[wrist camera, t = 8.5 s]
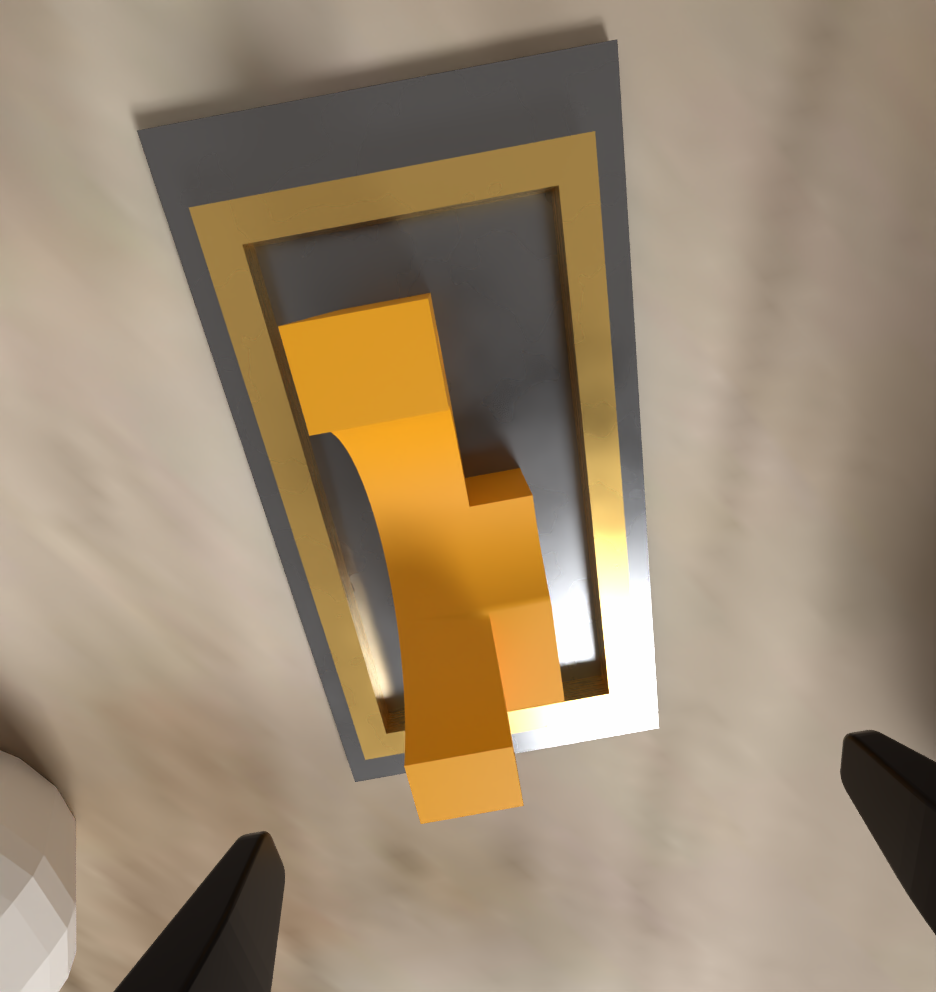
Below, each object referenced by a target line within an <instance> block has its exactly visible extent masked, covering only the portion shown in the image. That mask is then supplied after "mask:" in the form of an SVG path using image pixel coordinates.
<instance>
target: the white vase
mask: <svg viewBox="0 0 936 992" xmlns="http://www.w3.org/2000/svg"><path fill="white" fill-rule="evenodd" d="M75 954H76V820H75V818H74V816H73V815H72V813H71V811H70V810H69V808H68V806H67V804H66V803H65V801H64V799H63V798H62V796H61V794H60V792H59V791H58V789H57V787H55V786H54V785H53V784H52V783H50V782H49V781H48V780H47V779H45V778H44V777H43V776H42V775H40V774H39V773H38V772H36V771H35V770H34V769H33V768H31V767H30V766H29V765H28V764H26V763H25V762H24V761H23V760H21V759H20V758H18V757H15V756H13V755H10V754H8V753H6V752H3V751H1V750H0V992H59V990H60V989H61V987H62V986H63V984H64V983H65V981H66V980H67V978H68V976H69V973H70V970H71V966H72V963H73V960H74V957H75Z"/></svg>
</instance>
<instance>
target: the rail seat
mask: <svg viewBox="0 0 936 992" xmlns="http://www.w3.org/2000/svg"><path fill="white" fill-rule="evenodd" d="M137 132H138V135H139V138H140V141H141V144H142V147H143V150H144V153H145V156H146V159H147V162H148V165H149V168H150V171H151V174H152V177H153V180H154V183H155V186H156V189H157V192H158V195H159V198H160V201H161V204H162V207H163V210H164V213H165V216H166V218H167V221H168V224H169V227H170V230H171V233H172V236H173V239H174V242H175V245H176V248H177V251H178V254H179V257H180V260H181V263H182V266H183V269H184V272H185V275H186V278H187V281H188V284H189V287H190V290H191V293H192V296H193V299H194V302H195V305H196V308H197V311H198V314H199V317H200V320H201V323H202V326H203V329H204V332H205V335H206V338H207V341H208V344H209V347H210V350H211V353H212V356H213V359H214V362H215V365H216V368H217V371H218V374H219V377H220V380H221V383H222V386H223V389H224V392H225V395H226V398H227V401H228V404H229V407H230V410H231V413H232V416H233V419H234V422H235V424H236V427H237V430H238V433H239V436H240V439H241V442H242V445H243V448H244V451H245V454H246V457H247V460H248V463H249V466H250V469H251V472H252V475H253V478H254V481H255V484H256V487H257V490H258V493H259V496H260V499H261V502H262V505H263V508H264V511H265V514H266V517H267V520H268V523H269V526H270V529H271V532H272V535H273V538H274V541H275V544H276V547H277V550H278V553H279V556H280V559H281V562H282V565H283V568H284V571H285V574H286V577H287V580H288V583H289V586H290V589H291V592H292V595H293V598H294V601H295V604H296V607H297V610H298V613H299V616H300V619H301V622H302V625H303V628H304V630H305V633H306V636H307V639H308V642H309V645H310V648H311V651H312V654H313V657H314V660H315V663H316V666H317V669H318V672H319V675H320V678H321V681H322V684H323V687H324V690H325V693H326V696H327V699H328V702H329V705H330V708H331V711H332V714H333V717H334V720H335V723H336V726H337V729H338V732H339V735H340V738H341V741H342V744H343V747H344V750H345V753H346V756H347V759H348V762H349V765H350V768H351V771H352V774H353V777H354V780H355V782H358V781H364V780H369V779H375V778H381V777H386V776H392V775H397V774H403V773H406V770H405V767H404V760H405V703H404V685H403V672H402V661H401V651H400V643H399V634H398V627H397V620H396V613H395V607H394V601H393V595H392V589H391V584H390V579H389V574H388V569H387V564H386V560H385V555H384V551H383V547H382V543H381V539H380V535H379V531H378V527H377V524H376V520H375V517H374V514H373V511H372V507H371V504H370V501H369V498H368V495H367V493H366V490H365V487H364V485H363V482H362V480H361V477H360V475H359V473H358V470H357V468H356V466H355V464H354V462H353V460H352V458H351V456H350V455H349V453H348V451H347V450H346V448H345V447H344V445H343V444H342V442H341V441H340V440H339V439H338V438H337V437H336V436H335V435H334V434H333V433H331V432H327V433H322V434H317V435H311V436H309V433H308V429H307V426H306V422H305V419H304V415H303V412H302V408H301V405H300V401H299V398H298V394H297V391H296V387H295V384H294V380H293V377H292V374H291V370H290V367H289V363H288V360H287V356H286V353H285V349H284V346H283V342H282V339H281V335H280V332H279V328H278V326H281V325H285V324H289V323H292V322H296V321H300V320H303V319H307V318H311V317H314V316H318V315H322V314H325V313H329V312H333V311H336V310H341V309H346V308H351V307H357V306H362V305H367V304H373V303H378V302H383V301H389V300H394V299H400V298H405V297H410V296H416V295H421V294H426V293H431V299H432V304H433V309H434V315H435V320H436V325H437V331H438V336H439V342H440V347H441V352H442V358H443V363H444V368H445V374H446V379H447V384H448V390H449V395H450V401H451V406H452V411H453V417H454V422H455V427H456V433H457V438H458V444H459V449H460V454H461V460H462V465H463V470H464V476H465V478H468V477H473V476H479V475H484V474H489V473H495V472H500V471H506V470H511V469H517V468H520V469H521V471H522V473H523V476H524V478H525V480H526V482H527V484H528V486H529V488H530V491H531V493H532V495H533V501H534V509H535V516H536V522H537V529H538V535H539V541H540V547H541V553H542V558H543V564H544V569H545V574H546V580H547V585H548V590H549V595H550V599H551V605H552V613H553V620H554V627H555V634H556V642H557V649H558V656H559V663H560V671H561V678H562V685H563V692H564V700H565V701H564V702H559V703H553V704H547V705H542V706H536V707H531V708H525V709H520V710H514V711H508V718H509V724H510V729H511V735H512V741H513V747H514V753H521V752H527V751H532V750H538V749H543V748H549V747H555V746H560V745H566V744H571V743H577V742H583V741H588V740H594V739H599V738H605V737H611V736H616V735H622V734H628V733H633V732H639V731H644V730H650V729H656V728H659V723H658V707H657V690H656V673H655V657H654V640H653V624H652V607H651V591H650V574H649V557H648V541H647V524H646V508H645V491H644V475H643V458H642V442H641V425H640V408H639V392H638V375H637V359H636V342H635V326H634V309H633V292H632V276H631V259H630V243H629V226H628V210H627V193H626V176H625V160H624V143H623V127H622V110H621V94H620V77H619V61H618V44H617V40H612V41H606V42H601V43H596V44H591V45H585V46H580V47H575V48H570V49H564V50H559V51H554V52H548V53H543V54H538V55H533V56H527V57H522V58H517V59H512V60H506V61H501V62H496V63H491V64H485V65H480V66H475V67H469V68H464V69H459V70H454V71H448V72H443V73H438V74H433V75H427V76H422V77H417V78H412V79H406V80H401V81H396V82H391V83H385V84H380V85H375V86H369V87H364V88H359V89H354V90H348V91H343V92H338V93H333V94H327V95H322V96H317V97H312V98H306V99H301V100H296V101H290V102H285V103H280V104H275V105H269V106H264V107H259V108H254V109H248V110H243V111H238V112H233V113H227V114H222V115H217V116H211V117H206V118H201V119H196V120H190V121H185V122H180V123H175V124H169V125H164V126H159V127H154V128H148V129H143V130H138V131H137Z"/></svg>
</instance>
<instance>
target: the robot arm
mask: <svg viewBox="0 0 936 992" xmlns="http://www.w3.org/2000/svg"><path fill="white" fill-rule="evenodd" d="M840 775H841V780H842V783H843V785H844V788H845V790H846V792H847V793H848V795H849V797H850V798H851V800H852V802H853V803H854V805H855V807H856V809H857V810H858V812H859V814H860V815H861V817H862V819H863V820H864V822H865V824H866V825H867V827H868V829H869V831H870V832H871V834H872V836H873V837H874V839H875V841H876V842H877V844H878V846H879V848H880V849H881V851H882V853H883V854H884V856H885V858H886V859H887V861H888V863H889V864H890V866H891V868H892V870H893V871H894V873H895V875H896V876H897V878H898V880H899V881H900V883H901V885H902V886H903V888H904V889H905V891H906V893H907V894H908V896H909V897H910V899H911V900H912V902H913V903H914V905H915V906H916V908H917V909H918V911H919V912H920V914H921V915H922V916H923V918H924V919H925V921H926V922H927V924H928V925H929V926H930V928H931V929H932V931H933V932H934V933H935V935H936V762H935V761H933V760H931V759H929V758H927V757H925V756H923V755H922V754H920V753H918V752H916V751H914V750H912V749H910V748H908V747H906V746H905V745H903V744H901V743H899V742H897V741H895V740H893V739H891V738H889V737H888V736H886V735H884V734H882V733H880V732H877V731H874V730H865V731H859V732H853V733H849V734H847V735H846V736H845V737H844V740H843V748H842V758H841V769H840ZM284 885H285V870H284V866H283V863H282V860H281V858H280V856H279V853H278V851H277V849H276V846H275V844H274V841H273V839H272V837H271V835H270V834H269V833H268V832H266V831H262V832H256V833H250V834H245V835H243V836H241V837H240V838H238V839H237V840H236V842H235V843H234V844H233V845H232V846H231V848H230V849H229V850H228V851H227V853H226V854H225V855H224V856H223V858H222V859H221V860H220V861H219V862H218V864H217V865H216V866H215V867H214V869H213V870H212V871H211V872H210V874H209V875H208V876H207V877H206V878H205V880H204V881H203V882H202V883H201V885H200V886H199V887H198V888H197V890H196V891H195V892H194V893H193V894H192V896H191V897H190V898H189V899H188V901H187V902H186V903H185V904H184V906H183V907H182V908H181V909H180V911H179V912H178V913H177V914H176V915H175V917H174V918H173V919H172V920H171V922H170V923H169V924H168V925H167V927H166V928H165V929H164V930H163V931H162V933H161V934H160V935H159V936H158V938H157V939H156V940H155V941H154V943H153V944H152V945H151V946H150V947H149V949H148V950H147V951H146V952H145V954H144V955H143V956H142V957H141V959H140V960H139V961H138V962H137V963H136V965H135V966H134V967H133V968H132V970H131V971H130V972H129V973H128V975H127V976H126V977H125V978H124V980H123V981H122V982H121V983H120V984H119V986H118V987H117V988H116V989H115V991H114V992H271V986H272V979H273V971H274V963H275V955H276V948H277V940H278V932H279V924H280V916H281V908H282V901H283V893H284Z"/></svg>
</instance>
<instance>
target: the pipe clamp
mask: <svg viewBox="0 0 936 992" xmlns="http://www.w3.org/2000/svg"><path fill="white" fill-rule="evenodd" d="M278 328H279V332H280V335H281V339H282V342H283V346H284V349H285V353H286V356H287V360H288V363H289V367H290V370H291V374H292V377H293V380H294V384H295V387H296V391H297V394H298V398H299V401H300V405H301V408H302V412H303V415H304V419H305V422H306V426H307V429H308V433H309V436H311V435H317V434H322V433H327V432H331V433H333V434H334V435H335V436H336V437H337V438H338V439H339V440H340V441H341V442H342V444H343V445H344V447H345V448H346V450H347V451H348V453H349V455H350V456H351V458H352V460H353V462H354V464H355V466H356V468H357V470H358V473H359V475H360V477H361V480H362V482H363V485H364V487H365V490H366V493H367V495H368V498H369V501H370V504H371V507H372V511H373V514H374V517H375V520H376V524H377V527H378V531H379V535H380V539H381V543H382V547H383V551H384V555H385V560H386V564H387V569H388V574H389V579H390V584H391V589H392V595H393V601H394V607H395V613H396V620H397V627H398V634H399V643H400V651H401V661H402V672H403V685H404V703H405V760H404V767H405V770H406V774H407V777H408V781H409V784H410V788H411V791H412V795H413V798H414V802H415V805H416V809H417V812H418V816H419V819H420V823H421V824H424V823H429V822H435V821H441V820H446V819H452V818H458V817H463V816H469V815H474V814H480V813H486V812H491V811H497V810H503V809H508V808H514V807H519V806H524V805H523V799H522V794H521V788H520V782H519V776H518V770H517V764H516V759H515V753H514V747H513V741H512V735H511V729H510V724H509V718H508V711H514V710H520V709H525V708H531V707H536V706H542V705H547V704H553V703H559V702H564V701H565V700H564V692H563V685H562V678H561V671H560V663H559V656H558V649H557V642H556V634H555V627H554V620H553V613H552V605H551V599H550V595H549V590H548V585H547V580H546V574H545V569H544V564H543V558H542V553H541V547H540V541H539V535H538V529H537V522H536V516H535V509H534V501H533V495H532V493H531V491H530V488H529V486H528V484H527V482H526V480H525V478H524V476H523V473H522V471H521V469H520V468H517V469H511V470H506V471H500V472H495V473H489V474H484V475H479V476H473V477H468V478H465V476H464V470H463V465H462V460H461V454H460V449H459V444H458V438H457V433H456V427H455V422H454V417H453V411H452V406H451V401H450V395H449V390H448V384H447V379H446V374H445V368H444V363H443V358H442V352H441V347H440V342H439V336H438V331H437V325H436V320H435V315H434V309H433V304H432V299H431V293H426V294H421V295H416V296H410V297H405V298H400V299H394V300H389V301H383V302H378V303H373V304H367V305H362V306H357V307H351V308H346V309H341V310H336V311H333V312H329V313H325V314H322V315H318V316H314V317H311V318H307V319H303V320H300V321H296V322H292V323H289V324H285V325H281V326H278Z"/></svg>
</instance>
